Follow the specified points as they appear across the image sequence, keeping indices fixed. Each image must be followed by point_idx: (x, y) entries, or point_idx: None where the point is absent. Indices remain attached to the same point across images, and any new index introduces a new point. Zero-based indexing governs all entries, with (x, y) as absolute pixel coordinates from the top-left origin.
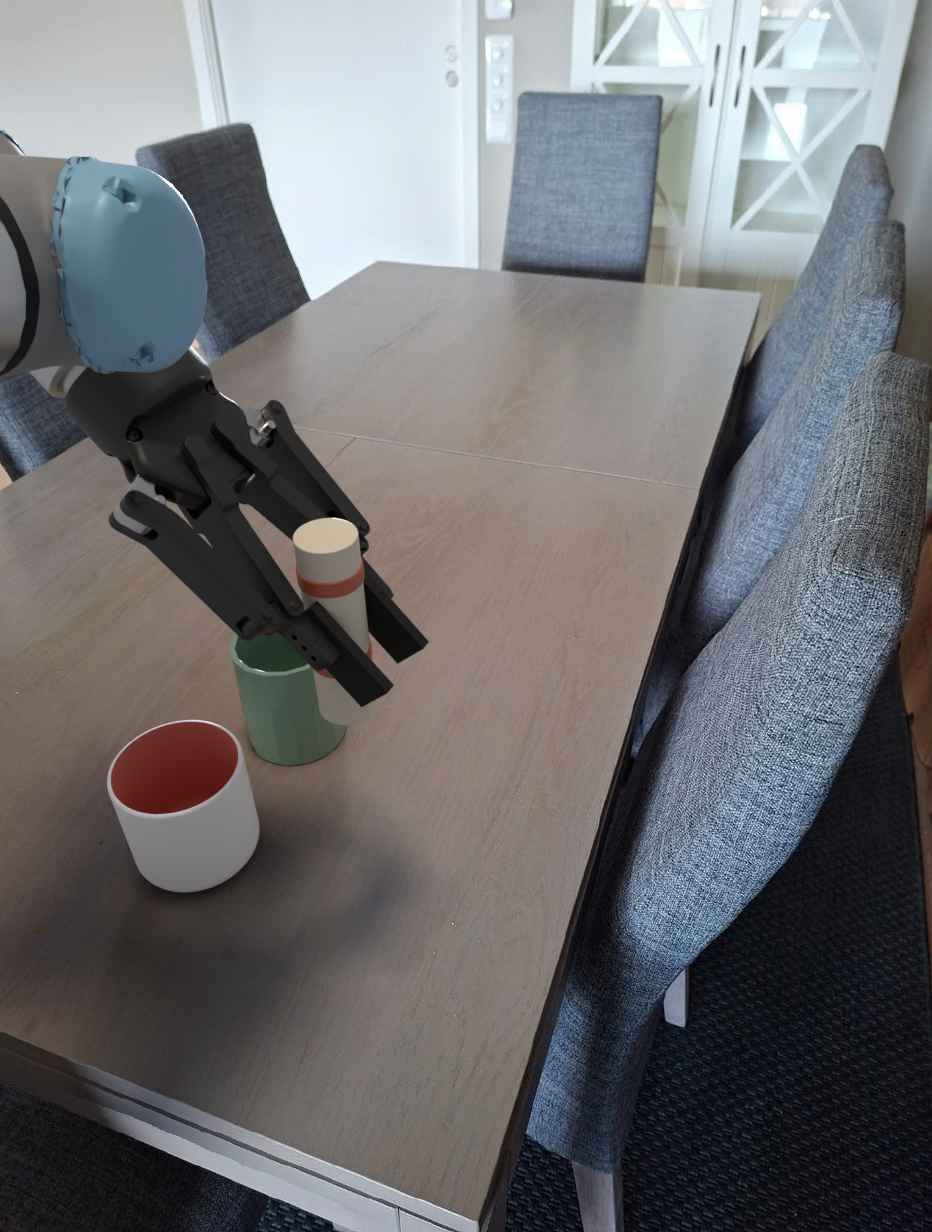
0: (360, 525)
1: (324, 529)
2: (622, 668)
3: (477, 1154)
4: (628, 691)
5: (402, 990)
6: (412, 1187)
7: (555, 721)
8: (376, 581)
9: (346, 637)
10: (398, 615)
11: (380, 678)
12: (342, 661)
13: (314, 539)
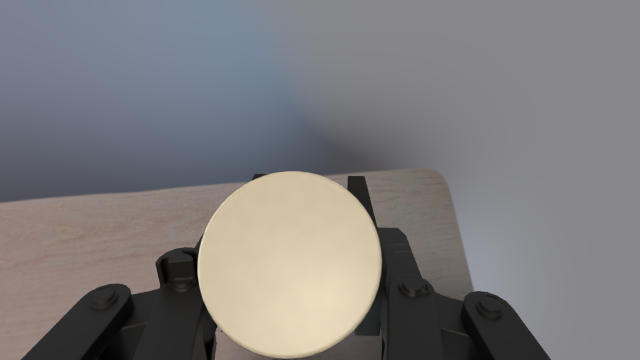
0: (108, 297)
1: (267, 272)
2: (38, 211)
3: (422, 173)
4: (67, 199)
5: None
6: (450, 194)
7: (113, 240)
8: None
9: None
10: None
11: (358, 183)
12: None
13: (325, 269)
